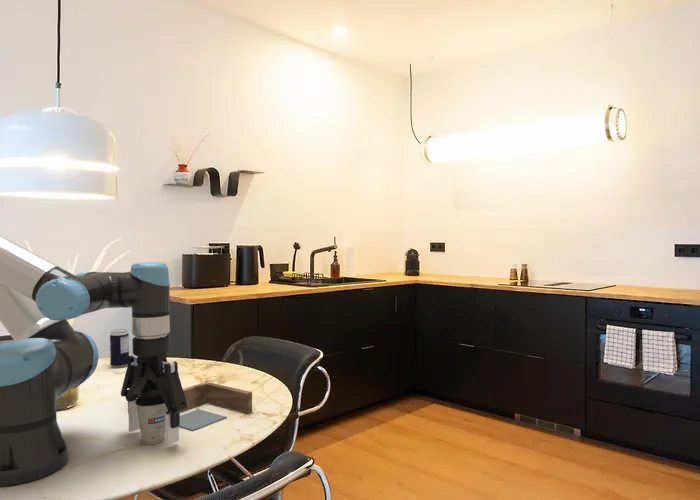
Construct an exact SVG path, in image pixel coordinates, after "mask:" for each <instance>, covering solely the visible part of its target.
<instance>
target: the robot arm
mask: <svg viewBox="0 0 700 500" xmlns="http://www.w3.org/2000/svg"><path fill="white" fill-rule="evenodd" d="M169 273H170V272H169V266H168V265H167V263H165V262H160V261H157V262H156V261H153V262H152V261H151V262H147V261H145V262H135V263H132V265H131V267H130V270H129V271H125V272H116V271H115V272H112V271H111V272H109V271H107V272H106V271H105V272H104V271H103V272H102V271H87V272H79V273H77V274H73V273H71V272H70V271H67V270H66V269H64V268H62V267H60V266H59V265H56V264H55V263H53V262H52V261H49V260H47V259H46V258H44V257H42V256H40V255H38V254H36V253H35V252H32V251H31V250H28V249H27V248H25V247H23V246H22V245H20V244H17V243H16V242H14V241H12V240H10V239H8V238H6V237H5V236H3V235H1V234H0V322H1V324H2V326H3V327H4V328H5V329H6V330H7V332H8V334H9V335H10V336H11V338H12V339H13V341H7V342H4V343H0V487H8V486H14V485H20V484H24V483H28V482H31V481H32V482H33V481H35V480H38V479H39V480H40V479H43V478H44V477H47V476H49V475H51V474H53V473H55V472H58V471H59V470H60V469H62V468H63V467H64V466H66V464H67V463H68V460H69V456H68V455H69V453H68V452H69V451H68V446H67V443H66V441H65V438H64V436H63V433H62V432H61V429H60V426H59V423H58V419H57V418H58V417H57V397H59V396H61V395H63V394H64V393H67V392H68V391H70V390H72V389H75V388H77V387H79V386H80V385H81V384H83V383H85V381H87V380H88V379H89V378H91V376H92V375H94V373H95V371H96V369H97V367H98V363H99V360H100V359H99V358H100V354H99V348H98V345H97V343H96V342H95V340H94V339H93V337H91V336H90V335H89V334H88V333H86V332H82V331H80V330H74V328H73V327H72V325H71V324H70V323H69V321H68V320H72V319H76V318H78V317H80V316H83V315H86V314H89V313H93V312H96V311H99V310H102V309H114V308H115V309H117V308H121V309H123V308H125V309H126V308H127V309H128V308H131V334H132V336H134V337H133V338H132V341H131V342H132V355H129V356H128V365H127V366H126V371H125V375H124V379H123V382H122V387H121V391H120V396H121V397H122V398H123V397H125V400H126V402H127V413H128V432H130V433H132V432H135V431H138V430H140V425H139V418H138V412H137V405H136V404H135V402H136V399H137V398H138V397H140V396H141V395H140V393H141V391H142V389H143V387H144V385H145V383H146V381H147V379H149V380H151V381H153V383H154V384H155V385H157V387H158V389H159V392H160V394H161V396H162V398H163V401H164V403H165V405H166V407H167V410H168V411H167V412H166V413H165V430H166V432H165V445H167V446H169V445H172V444H173V443H176V442H179V441H180V427H179V425H180V416H181V414H180V413H181V412H180V410H183V409H186V408H187V403H186V399H185V396H184V392H183V389H184V388H183V386H182V385H183V384H182V381H181V379H180V374H179V368H178V367H179V366H178V365H179V364H178V362H177V360H176V361H172V362H171V361H170V362H169V361H168V359H167V355H168V354H169V353H170V352H171V336H170V335H169V334H170V332H171V326H170V325H171V323H170V321H171V320H170V318H171V317H170V314H171V312H170V311H171V310H170V302H171V301H170V297H171V296H170V293H171V292H170V286H171V281H170V274H169ZM162 376H164V377H162ZM180 403H181V404H180ZM172 405H173V406H172Z"/></svg>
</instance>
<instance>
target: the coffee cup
mask: <svg viewBox="0 0 700 500" xmlns="http://www.w3.org/2000/svg"><path fill="white" fill-rule="evenodd" d="M135 404H136V405H137V412H138V418H139V425H140V429H139V430H140V438H141V444H143V445H155V444H156V445H157V444H159V443H162V442H164V441H165V440H166V430H165V413H166V412H167V411H168V410H167V407H166V405H165V403H164V401H163V398H162V396H161V394H160V392H159V390H154V391H148V392H144V393H142V394H141V396H140V397H138V398H137V399H136V402H135Z"/></svg>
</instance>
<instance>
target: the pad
mask: <svg viewBox="0 0 700 500" xmlns="http://www.w3.org/2000/svg"><path fill="white" fill-rule="evenodd" d="M225 419H228V416H226V415H225V416H224V415H222V414H218V413H214V412H211V411H206V410H203V409H199V408H197V409H195V410H192V411H189V412H186V413H184V414H180V425H179V428H180V429H181V428H182V429H185V430H187V431H192V432H194V431H198V430H200V429H202V428H205V427H207V426H210V425H212V424H214V423H218V422H220V421H223V420H225Z"/></svg>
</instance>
